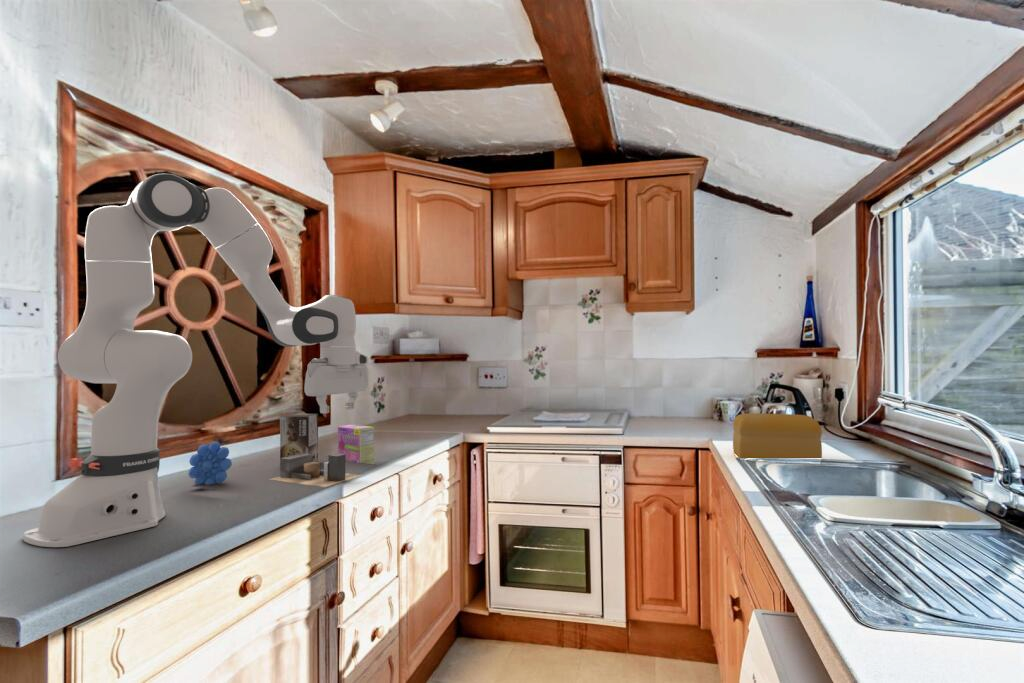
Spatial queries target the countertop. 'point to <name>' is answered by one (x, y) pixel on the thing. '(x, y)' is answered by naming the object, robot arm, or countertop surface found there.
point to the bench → (315, 480)
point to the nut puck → (312, 469)
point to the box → (356, 443)
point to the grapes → (210, 464)
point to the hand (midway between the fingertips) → (337, 411)
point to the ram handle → (335, 467)
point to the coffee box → (299, 435)
